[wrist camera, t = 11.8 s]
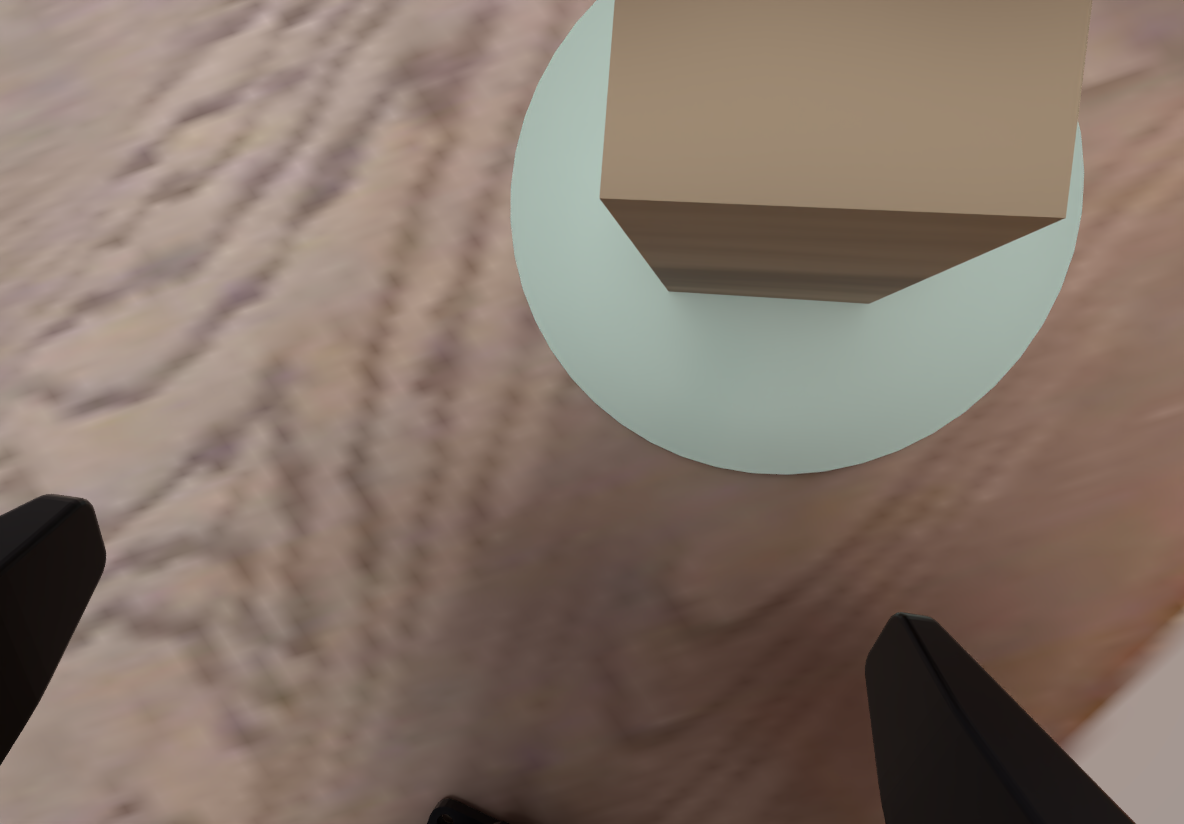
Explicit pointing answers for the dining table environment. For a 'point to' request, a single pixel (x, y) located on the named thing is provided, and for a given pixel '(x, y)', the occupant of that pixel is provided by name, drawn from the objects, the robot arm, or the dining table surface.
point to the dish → (752, 313)
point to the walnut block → (837, 138)
